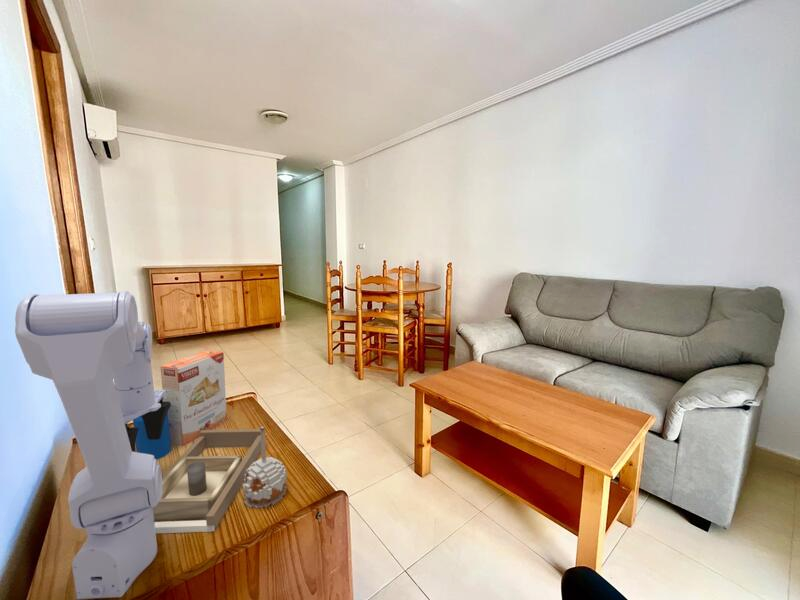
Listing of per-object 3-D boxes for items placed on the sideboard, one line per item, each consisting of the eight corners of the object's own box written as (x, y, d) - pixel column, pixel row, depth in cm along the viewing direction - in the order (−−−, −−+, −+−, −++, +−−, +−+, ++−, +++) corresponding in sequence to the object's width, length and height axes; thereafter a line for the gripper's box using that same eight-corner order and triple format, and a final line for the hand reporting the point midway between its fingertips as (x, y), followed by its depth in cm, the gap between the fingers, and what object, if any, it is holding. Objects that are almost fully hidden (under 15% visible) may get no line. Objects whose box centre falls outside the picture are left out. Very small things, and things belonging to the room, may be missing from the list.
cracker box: (184, 450, 81) (177, 368, 78) (166, 445, 83) (158, 365, 79) (229, 421, 94) (224, 350, 91) (212, 418, 96) (206, 348, 93)
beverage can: (166, 445, 83) (162, 399, 81) (175, 455, 79) (171, 408, 77) (134, 457, 78) (128, 409, 76) (142, 469, 74) (136, 418, 72)
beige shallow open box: (213, 518, 60) (211, 489, 59) (143, 520, 59) (140, 491, 58) (242, 470, 72) (241, 446, 72) (185, 471, 72) (183, 447, 71)
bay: (214, 535, 57) (212, 510, 56) (123, 539, 56) (120, 514, 55) (265, 446, 83) (264, 428, 82) (203, 448, 82) (201, 429, 81)
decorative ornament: (236, 500, 65) (231, 429, 63) (271, 478, 71) (268, 413, 69) (259, 519, 61) (255, 443, 58) (294, 494, 67) (292, 425, 65)
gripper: (128, 401, 56) (136, 473, 58) (178, 370, 71) (184, 429, 73) (84, 401, 56) (94, 474, 58) (144, 370, 70) (150, 430, 72)
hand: (141, 449), depth 65 cm, fingers open, 7 cm apart
